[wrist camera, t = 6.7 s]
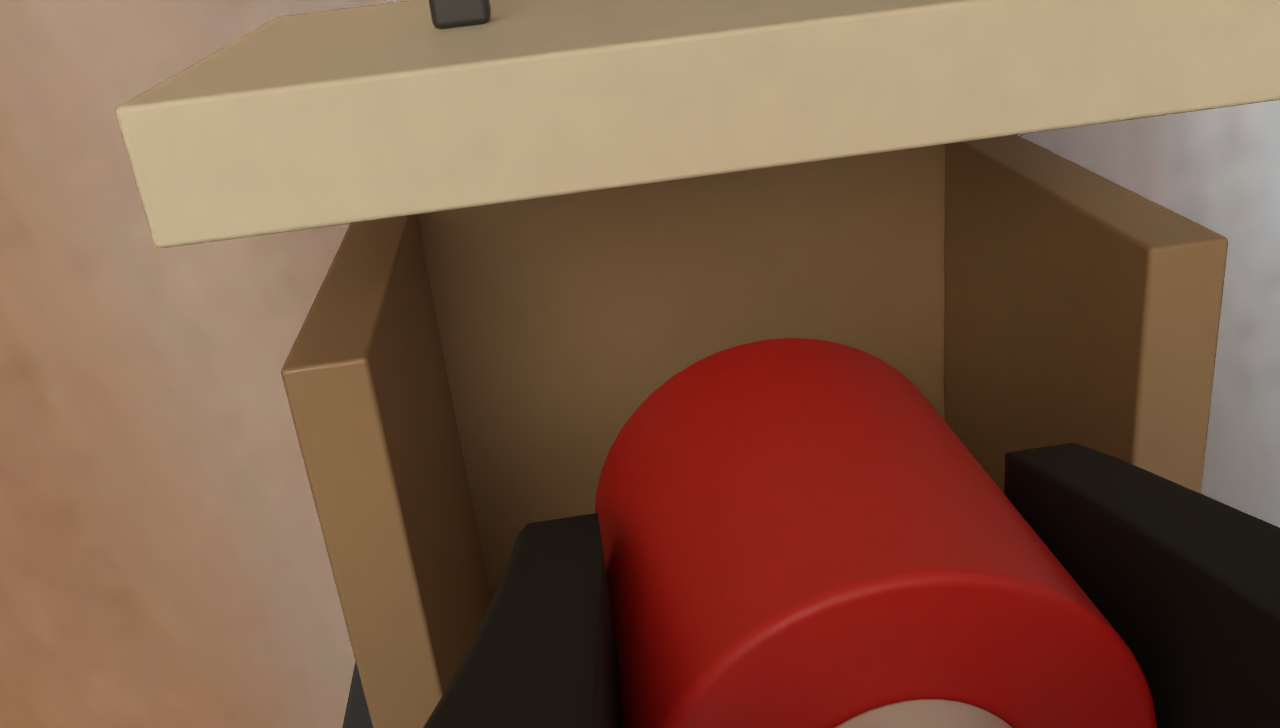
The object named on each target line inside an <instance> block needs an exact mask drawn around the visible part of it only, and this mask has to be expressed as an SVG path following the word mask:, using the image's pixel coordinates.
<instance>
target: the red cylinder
mask: <svg viewBox="0 0 1280 728" xmlns="http://www.w3.org/2000/svg"><path fill="white" fill-rule="evenodd" d="M594 513H598V518H599V525H600V532H601V539H602V546H603V553H604V560H605V567H606V574H607V581H608V588H609V595H610V603H611V610H612V617H613V624H614V631H615V638H616V645H617V661H618V680H619V697H620V709H621V720H622V728H1157V723H1156V716H1155V710H1154V703H1153V698H1152V695H1151V692H1150V689H1149V686H1148V683H1147V680H1146V677H1145V674H1144V672H1143V670H1142V668H1141V666H1140V665H1139V663H1138V661H1137V659H1136V657H1135V656H1134V654H1133V652H1132V650H1131V649H1130V648H1129V646H1128V645H1127V644H1126V643H1125V641H1124V640H1123V639H1122V638H1121V637H1120V635H1119V634H1118V633H1117V632H1116V630H1115V629H1114V628H1113V627H1112V625H1111V624H1110V623H1109V622H1108V621H1107V619H1106V618H1105V617H1104V616H1103V614H1102V613H1101V612H1100V611H1099V610H1098V608H1097V607H1096V606H1095V605H1094V603H1093V602H1092V601H1091V600H1090V599H1089V597H1088V596H1087V595H1086V594H1085V592H1084V591H1083V590H1082V589H1081V587H1080V586H1079V585H1078V584H1077V583H1076V581H1075V580H1074V579H1073V578H1072V576H1071V575H1070V574H1069V573H1068V572H1067V570H1066V569H1065V568H1064V567H1063V565H1062V564H1061V563H1060V562H1059V561H1058V559H1057V558H1056V557H1055V556H1054V554H1053V553H1052V552H1051V551H1050V550H1049V548H1048V547H1047V546H1046V545H1045V543H1044V542H1043V541H1042V540H1041V538H1040V537H1039V536H1038V535H1037V534H1036V532H1035V531H1034V530H1033V529H1032V527H1031V526H1030V525H1029V524H1028V523H1027V521H1026V520H1025V519H1024V518H1023V516H1022V515H1021V514H1020V513H1019V512H1018V510H1017V509H1016V508H1015V507H1014V505H1013V504H1012V503H1011V502H1010V501H1009V499H1008V498H1007V497H1006V496H1005V494H1004V493H1003V492H1002V491H1001V489H1000V488H999V487H998V486H997V485H996V483H995V482H994V481H993V480H992V478H991V477H990V476H989V475H988V474H987V472H986V471H985V470H984V469H983V467H982V466H981V465H980V464H979V463H978V461H977V460H976V459H975V458H974V456H973V455H972V454H971V453H970V452H969V450H968V449H967V448H966V447H965V445H964V444H963V443H962V442H961V441H960V439H959V438H958V437H957V436H956V434H955V433H954V432H953V431H952V429H951V428H950V427H949V426H948V425H947V423H946V422H945V421H944V420H943V418H942V417H941V416H940V415H939V414H938V412H937V411H936V410H935V409H934V407H933V406H932V405H931V404H930V403H929V401H928V400H927V399H926V398H925V396H924V395H923V394H922V393H921V392H920V390H919V389H918V388H917V387H916V386H915V385H914V384H913V383H912V382H911V381H910V380H909V379H907V378H906V377H905V376H904V375H903V374H902V373H901V372H899V371H898V370H896V369H895V368H893V367H892V366H890V365H889V364H887V363H886V362H884V361H883V360H881V359H879V358H877V357H875V356H872V355H870V354H868V353H866V352H864V351H862V350H859V349H856V348H853V347H849V346H846V345H843V344H840V343H835V342H829V341H824V340H818V339H803V338H783V339H770V340H762V341H757V342H752V343H747V344H742V345H738V346H735V347H732V348H729V349H726V350H723V351H720V352H717V353H714V354H712V355H710V356H708V357H706V358H704V359H702V360H700V361H697V362H695V363H693V364H692V365H690V366H688V367H687V368H685V369H684V370H682V371H680V372H679V373H677V374H676V375H674V376H672V377H671V378H670V379H669V380H667V381H666V382H665V383H664V384H662V385H661V386H660V387H659V388H657V389H656V390H655V391H654V392H653V393H652V394H651V395H650V396H649V397H648V398H647V399H646V400H645V401H644V402H643V403H642V404H641V405H640V406H639V407H638V408H637V409H636V410H635V411H634V413H633V414H632V415H631V417H630V418H629V419H628V421H627V422H626V423H625V425H624V426H623V427H622V429H621V430H620V432H619V434H618V436H617V437H616V439H615V441H614V443H613V445H612V446H611V448H610V450H609V452H608V455H607V458H606V460H605V463H604V465H603V468H602V470H601V474H600V478H599V483H598V487H597V491H596V501H595V512H594Z"/></svg>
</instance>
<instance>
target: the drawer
mask: <svg viewBox="0 0 1280 728" xmlns="http://www.w3.org/2000/svg"><path fill="white" fill-rule="evenodd" d="M1274 100H1280V0H412V1H404V2H395V3H387V4H379V5H371V6H363V7H355V8H346V9H338V10H330V11H322V12H314V13H305V14H297V15H289V16H281V17H277V18H275V19H274V20H272V21H270V22H268V23H267V24H265V25H263V26H261V27H259V28H258V29H256V30H254V31H252V32H251V33H249V34H247V35H245V36H243V37H242V38H240V39H238V40H236V41H235V42H233V43H231V44H229V45H228V46H226V47H224V48H222V49H220V50H219V51H217V52H215V53H213V54H212V55H210V56H208V57H206V58H205V59H203V60H201V61H199V62H197V63H196V64H194V65H192V66H190V67H189V68H187V69H185V70H183V71H181V72H180V73H178V74H176V75H174V76H173V77H171V78H169V79H167V80H166V81H164V82H162V83H160V84H158V85H157V86H155V87H153V88H151V89H150V90H148V91H146V92H144V93H142V94H141V95H139V96H137V97H135V98H134V99H132V100H130V101H128V102H127V103H125V104H123V105H121V106H120V107H118V108H116V116H117V119H118V122H119V126H120V129H121V133H122V136H123V139H124V143H125V146H126V150H127V153H128V156H129V160H130V163H131V167H132V170H133V173H134V177H135V180H136V184H137V187H138V190H139V194H140V197H141V201H142V204H143V207H144V211H145V214H146V218H147V221H148V224H149V228H150V231H151V235H152V238H153V241H154V244H155V245H156V247H159V248H167V247H175V246H182V245H190V244H197V243H205V242H212V241H220V240H227V239H235V238H242V237H250V236H258V235H265V234H273V233H280V232H288V231H295V230H303V229H310V228H318V227H325V226H333V225H340V224H348V223H351V224H350V226H349V228H348V230H347V232H346V234H345V237H344V239H343V241H342V243H341V245H340V247H339V249H338V251H337V254H336V256H335V258H334V260H333V262H332V264H331V266H330V268H329V270H328V273H327V275H326V277H325V279H324V281H323V283H322V285H321V287H320V290H319V292H318V294H317V296H316V298H315V300H314V302H313V304H312V307H311V309H310V311H309V313H308V315H307V317H306V319H305V321H304V323H303V326H302V328H301V330H300V332H299V334H298V336H297V338H296V340H295V343H294V345H293V347H292V349H291V351H290V353H289V355H288V357H287V359H286V362H285V364H284V366H283V368H282V371H281V374H282V378H283V382H284V386H285V390H286V394H287V398H288V401H289V405H290V409H291V413H292V417H293V421H294V425H295V428H296V432H297V436H298V440H299V444H300V448H301V452H302V455H303V459H304V463H305V467H306V471H307V475H308V479H309V482H310V486H311V490H312V494H313V498H314V502H315V506H316V509H317V513H318V517H319V521H320V525H321V529H322V533H323V536H324V540H325V544H326V548H327V552H328V556H329V560H330V563H331V567H332V571H333V575H334V579H335V583H336V587H337V590H338V594H339V598H340V602H341V606H342V610H343V614H344V617H345V621H346V625H347V629H348V633H349V637H350V641H351V644H352V648H353V652H354V656H355V660H356V664H357V667H358V671H359V675H360V679H361V683H362V687H363V691H364V694H365V698H366V702H367V706H368V710H369V714H370V718H371V721H372V725H373V728H423V727H424V725H425V724H426V722H427V720H428V719H429V717H430V715H431V714H432V712H433V711H434V709H435V707H436V706H437V704H438V702H439V701H440V699H441V697H442V696H443V694H444V693H445V691H446V689H447V687H448V686H449V684H450V682H451V680H452V678H453V677H454V675H455V673H456V671H457V669H458V667H459V665H460V663H461V661H462V659H463V658H464V656H465V654H466V652H467V650H468V648H469V646H470V644H471V642H472V640H473V638H474V636H475V634H476V632H477V630H478V628H479V627H480V625H481V623H482V621H483V619H484V617H485V615H486V612H487V610H488V608H489V606H490V604H491V601H492V599H493V597H494V595H495V593H496V590H497V588H498V586H499V583H500V581H501V579H502V576H503V574H504V571H505V569H506V566H507V564H508V561H509V558H510V556H511V553H512V550H513V547H514V543H515V540H516V537H517V535H518V534H519V533H520V532H521V531H522V530H523V528H524V527H525V526H526V525H527V524H528V523H533V522H540V521H547V520H554V519H560V518H567V517H574V516H581V515H587V514H594V512H595V501H596V491H597V487H598V483H599V478H600V474H601V470H602V468H603V465H604V463H605V460H606V458H607V455H608V452H609V450H610V448H611V446H612V445H613V443H614V441H615V439H616V437H617V436H618V434H619V432H620V430H621V429H622V427H623V426H624V425H625V423H626V422H627V421H628V419H629V418H630V417H631V415H632V414H633V413H634V411H635V410H636V409H637V408H638V407H639V406H640V405H641V404H642V403H643V402H644V401H645V400H646V399H647V398H648V397H649V396H650V395H651V394H652V393H653V392H654V391H655V390H656V389H657V388H659V387H660V386H661V385H662V384H664V383H665V382H666V381H667V380H669V379H670V378H671V377H672V376H674V375H676V374H677V373H679V372H680V371H682V370H684V369H685V368H687V367H688V366H690V365H692V364H693V363H695V362H697V361H700V360H702V359H704V358H706V357H708V356H710V355H712V354H714V353H717V352H720V351H723V350H726V349H729V348H732V347H735V346H738V345H742V344H747V343H752V342H757V341H762V340H770V339H783V338H803V339H818V340H824V341H829V342H835V343H840V344H843V345H846V346H849V347H853V348H856V349H859V350H862V351H864V352H866V353H868V354H870V355H872V356H875V357H877V358H879V359H881V360H883V361H884V362H886V363H887V364H889V365H890V366H892V367H893V368H895V369H896V370H898V371H899V372H901V373H902V374H903V375H904V376H905V377H906V378H907V379H909V380H910V381H911V382H912V383H913V384H914V385H915V386H916V387H917V388H918V389H919V390H920V392H921V393H922V394H923V395H924V396H925V398H926V399H927V400H928V401H929V403H930V404H931V405H932V406H933V407H934V409H935V410H936V411H937V412H938V414H939V415H940V416H941V417H942V418H943V420H944V421H945V422H946V423H947V425H948V426H949V427H950V428H951V429H952V431H953V432H954V433H955V434H956V436H957V437H958V438H959V439H960V441H961V442H962V443H963V444H964V445H965V447H966V448H967V449H968V450H969V452H970V453H971V454H972V455H973V456H974V458H975V459H976V460H977V461H978V463H979V464H980V465H981V466H982V467H983V469H984V470H985V471H986V472H987V474H988V475H989V476H990V477H991V478H992V480H993V481H994V482H995V483H996V485H997V486H998V487H999V488H1000V489H1001V491H1002V492H1003V493H1004V480H1005V453H1006V452H1013V451H1020V450H1026V449H1033V448H1040V447H1047V446H1053V445H1060V444H1067V443H1076V444H1079V445H1082V446H1085V447H1088V448H1091V449H1094V450H1097V451H1099V452H1102V453H1105V454H1108V455H1110V456H1113V457H1115V458H1118V459H1120V460H1123V461H1125V462H1128V463H1130V464H1132V465H1135V466H1137V467H1140V468H1142V469H1144V470H1147V471H1149V472H1152V473H1154V474H1156V475H1158V476H1161V477H1163V478H1165V479H1168V480H1170V481H1172V482H1175V483H1177V484H1179V485H1182V486H1184V487H1186V488H1188V489H1191V490H1193V491H1195V492H1198V493H1200V494H1201V485H1202V476H1203V467H1204V458H1205V449H1206V440H1207V430H1208V421H1209V412H1210V403H1211V394H1212V385H1213V375H1214V366H1215V357H1216V348H1217V339H1218V330H1219V320H1220V311H1221V302H1222V293H1223V284H1224V275H1225V265H1226V256H1227V247H1228V240H1227V238H1226V237H1224V236H1222V235H1220V234H1218V233H1216V232H1214V231H1212V230H1210V229H1208V228H1206V227H1204V226H1202V225H1200V224H1198V223H1196V222H1193V221H1191V220H1189V219H1187V218H1185V217H1183V216H1181V215H1179V214H1177V213H1175V212H1173V211H1171V210H1169V209H1167V208H1165V207H1163V206H1161V205H1159V204H1157V203H1155V202H1153V201H1151V200H1149V199H1147V198H1145V197H1142V196H1140V195H1138V194H1136V193H1134V192H1132V191H1130V190H1128V189H1126V188H1124V187H1122V186H1120V185H1118V184H1116V183H1114V182H1112V181H1110V180H1108V179H1106V178H1104V177H1102V176H1100V175H1098V174H1096V173H1094V172H1091V171H1089V170H1087V169H1085V168H1083V167H1081V166H1079V165H1077V164H1075V163H1073V162H1071V161H1069V160H1067V159H1065V158H1063V157H1061V156H1059V155H1057V154H1055V153H1053V152H1051V151H1049V150H1047V149H1045V148H1043V147H1040V146H1038V145H1036V144H1034V143H1032V142H1030V141H1028V140H1026V139H1024V138H1022V137H1020V136H1018V134H1025V133H1033V132H1040V131H1048V130H1056V129H1063V128H1071V127H1078V126H1086V125H1093V124H1101V123H1108V122H1116V121H1123V120H1131V119H1138V118H1146V117H1153V116H1161V115H1168V114H1176V113H1183V112H1191V111H1199V110H1206V109H1214V108H1221V107H1229V106H1236V105H1244V104H1251V103H1259V102H1266V101H1274Z"/></svg>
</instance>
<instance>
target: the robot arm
mask: <svg viewBox="0 0 1280 728" xmlns="http://www.w3.org/2000/svg"><path fill="white" fill-rule="evenodd" d="M1004 494H1005V496H1006V497H1007V498H1008V499H1009V501H1010V502H1011V503H1012V504H1013V505H1014V507H1015V508H1016V509H1017V510H1018V512H1019V513H1020V514H1021V515H1022V516H1023V518H1024V519H1025V520H1026V521H1027V523H1028V524H1029V525H1030V526H1031V527H1032V529H1033V530H1034V531H1035V532H1036V534H1037V535H1038V536H1039V537H1040V538H1041V540H1042V541H1043V542H1044V543H1045V545H1046V546H1047V547H1048V548H1049V550H1050V551H1051V552H1052V553H1053V554H1054V556H1055V557H1056V558H1057V559H1058V561H1059V562H1060V563H1061V564H1062V565H1063V567H1064V568H1065V569H1066V570H1067V572H1068V573H1069V574H1070V575H1071V576H1072V578H1073V579H1074V580H1075V581H1076V583H1077V584H1078V585H1079V586H1080V587H1081V589H1082V590H1083V591H1084V592H1085V594H1086V595H1087V596H1088V597H1089V599H1090V600H1091V601H1092V602H1093V603H1094V605H1095V606H1096V607H1097V608H1098V610H1099V611H1100V612H1101V613H1102V614H1103V616H1104V617H1105V618H1106V619H1107V621H1108V622H1109V623H1110V624H1111V625H1112V627H1113V628H1114V629H1115V630H1116V632H1117V633H1118V634H1119V635H1120V637H1121V638H1122V639H1123V640H1124V641H1125V643H1126V644H1127V645H1128V646H1129V648H1130V649H1131V650H1132V652H1133V654H1134V656H1135V657H1136V659H1137V661H1138V663H1139V665H1140V666H1141V668H1142V670H1143V672H1144V674H1145V677H1146V680H1147V683H1148V686H1149V689H1150V692H1151V695H1152V698H1153V703H1154V710H1155V716H1156V723H1157V728H1280V528H1279V527H1277V526H1274V525H1272V524H1270V523H1267V522H1265V521H1263V520H1260V519H1258V518H1255V517H1253V516H1251V515H1248V514H1246V513H1244V512H1241V511H1239V510H1237V509H1235V508H1232V507H1230V506H1228V505H1225V504H1223V503H1221V502H1218V501H1216V500H1214V499H1211V498H1209V497H1207V496H1205V495H1202V494H1200V493H1198V492H1195V491H1193V490H1191V489H1188V488H1186V487H1184V486H1182V485H1179V484H1177V483H1175V482H1172V481H1170V480H1168V479H1165V478H1163V477H1161V476H1158V475H1156V474H1154V473H1152V472H1149V471H1147V470H1144V469H1142V468H1140V467H1137V466H1135V465H1132V464H1130V463H1128V462H1125V461H1123V460H1120V459H1118V458H1115V457H1113V456H1110V455H1108V454H1105V453H1102V452H1099V451H1097V450H1094V449H1091V448H1088V447H1085V446H1082V445H1079V444H1076V443H1067V444H1060V445H1053V446H1047V447H1040V448H1033V449H1026V450H1020V451H1013V452H1006V453H1005V480H1004ZM423 728H622V720H621V709H620V697H619V680H618V661H617V645H616V638H615V631H614V624H613V617H612V610H611V603H610V595H609V588H608V581H607V574H606V567H605V560H604V553H603V546H602V539H601V532H600V525H599V518H598V513H594V514H587V515H581V516H574V517H567V518H560V519H554V520H547V521H540V522H533V523H528V524H527V525H526V526H525V527H524V528H523V530H522V531H521V532H520V533H519V534H518V535H517V537H516V540H515V543H514V547H513V550H512V553H511V556H510V558H509V561H508V564H507V566H506V569H505V571H504V574H503V576H502V579H501V581H500V583H499V586H498V588H497V590H496V593H495V595H494V597H493V599H492V601H491V604H490V606H489V608H488V610H487V612H486V615H485V617H484V619H483V621H482V623H481V625H480V627H479V628H478V630H477V632H476V634H475V636H474V638H473V640H472V642H471V644H470V646H469V648H468V650H467V652H466V654H465V656H464V658H463V659H462V661H461V663H460V665H459V667H458V669H457V671H456V673H455V675H454V677H453V678H452V680H451V682H450V684H449V686H448V687H447V689H446V691H445V693H444V694H443V696H442V697H441V699H440V701H439V702H438V704H437V706H436V707H435V709H434V711H433V712H432V714H431V715H430V717H429V719H428V720H427V722H426V724H425V725H424V727H423Z"/></svg>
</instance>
